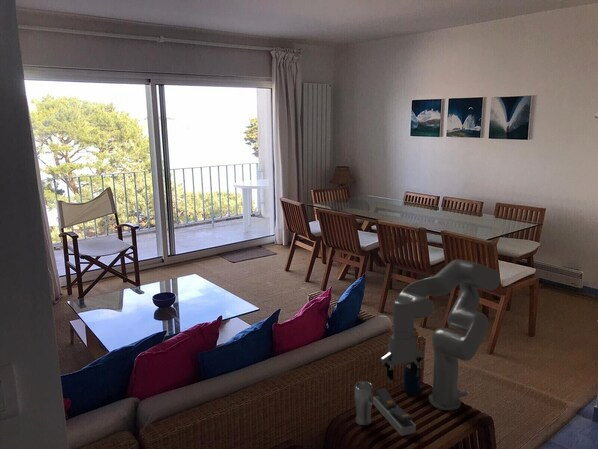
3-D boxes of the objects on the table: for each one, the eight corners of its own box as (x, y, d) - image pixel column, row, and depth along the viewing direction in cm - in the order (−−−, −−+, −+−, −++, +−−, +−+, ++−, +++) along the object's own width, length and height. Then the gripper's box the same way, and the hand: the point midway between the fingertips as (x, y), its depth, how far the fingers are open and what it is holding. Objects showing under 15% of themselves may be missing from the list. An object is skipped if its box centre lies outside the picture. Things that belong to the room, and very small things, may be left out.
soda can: (422, 395, 203) (423, 368, 201) (406, 396, 202) (407, 369, 200) (416, 386, 210) (417, 361, 207) (401, 388, 209) (402, 362, 207)
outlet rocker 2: (399, 410, 186) (399, 406, 186) (413, 419, 177) (412, 416, 177) (390, 411, 185) (389, 408, 185) (403, 421, 175) (403, 418, 175)
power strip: (372, 403, 197) (372, 396, 197) (385, 401, 199) (386, 394, 198) (401, 436, 176) (401, 428, 175) (415, 432, 177) (415, 425, 177)
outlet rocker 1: (384, 390, 197) (384, 387, 197) (396, 406, 188) (396, 404, 188) (375, 392, 196) (376, 389, 196) (387, 408, 187) (387, 406, 187)
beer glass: (372, 427, 181) (372, 390, 178) (353, 425, 182) (353, 389, 180) (373, 417, 188) (373, 381, 185) (355, 415, 189) (355, 380, 186)
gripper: (418, 325, 181) (417, 368, 184) (376, 332, 176) (376, 375, 179) (429, 333, 174) (428, 377, 177) (386, 340, 169) (386, 385, 172)
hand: (402, 376), depth 178 cm, fingers open, 9 cm apart
